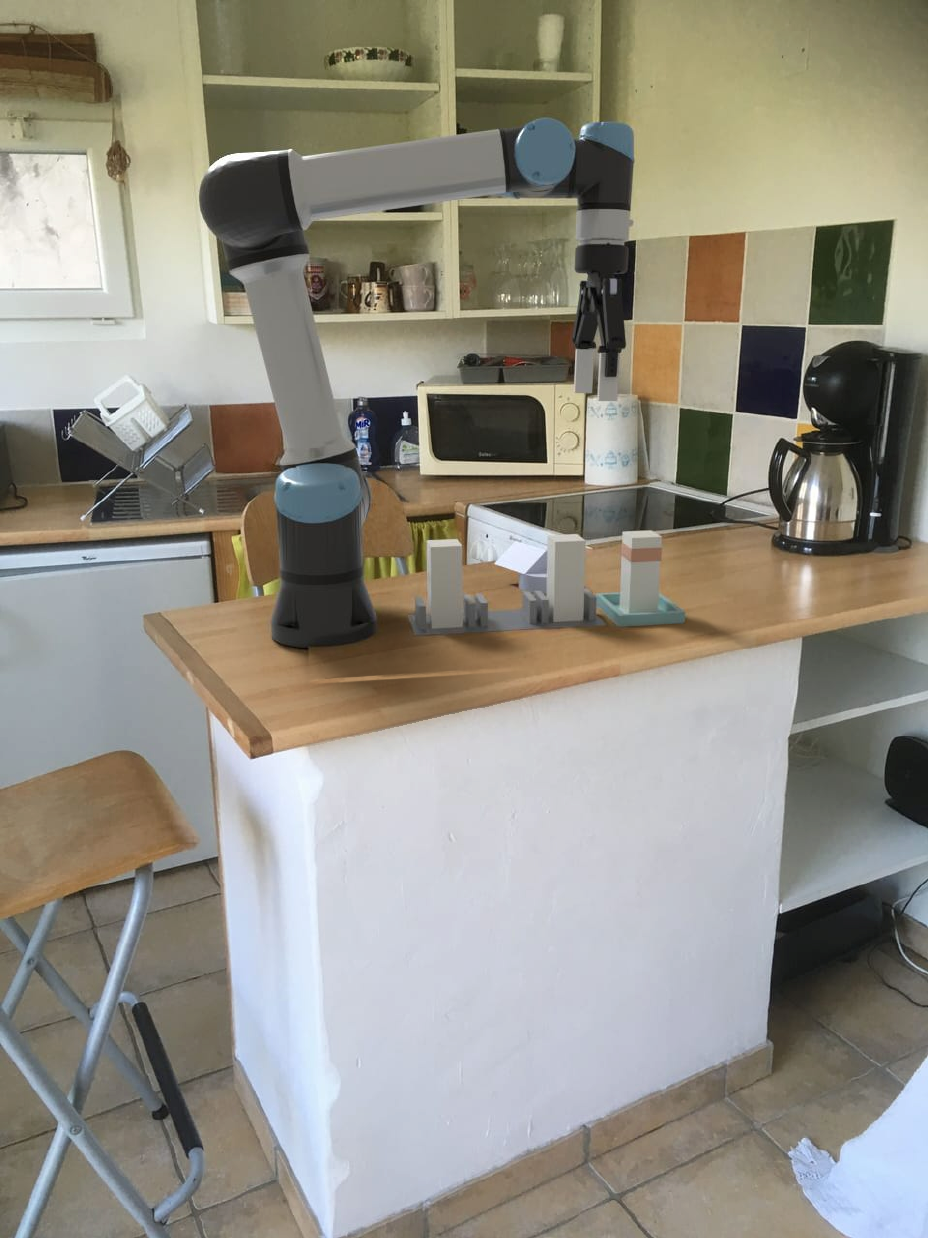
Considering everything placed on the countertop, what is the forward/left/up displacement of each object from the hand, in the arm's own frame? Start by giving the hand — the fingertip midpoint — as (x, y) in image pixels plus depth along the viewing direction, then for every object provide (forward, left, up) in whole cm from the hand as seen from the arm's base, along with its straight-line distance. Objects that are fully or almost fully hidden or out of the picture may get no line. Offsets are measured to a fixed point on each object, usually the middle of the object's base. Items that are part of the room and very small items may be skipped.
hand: (594, 396), depth 150 cm
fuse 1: (-24, -8, -31) cm, 40 cm away
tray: (+6, -8, -32) cm, 33 cm away
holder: (-15, -8, -32) cm, 36 cm away
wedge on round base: (-5, +11, -32) cm, 35 cm away
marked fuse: (+6, -8, -31) cm, 33 cm away
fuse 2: (-6, -8, -31) cm, 33 cm away
